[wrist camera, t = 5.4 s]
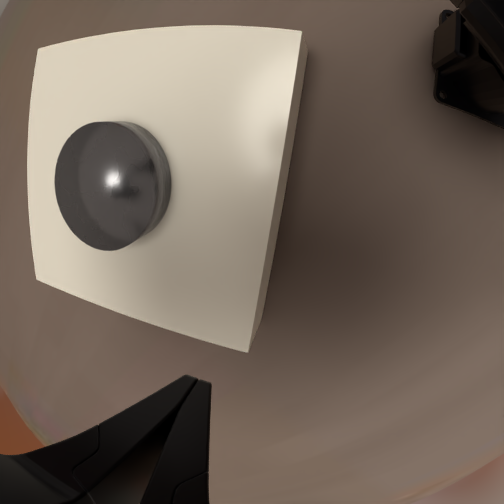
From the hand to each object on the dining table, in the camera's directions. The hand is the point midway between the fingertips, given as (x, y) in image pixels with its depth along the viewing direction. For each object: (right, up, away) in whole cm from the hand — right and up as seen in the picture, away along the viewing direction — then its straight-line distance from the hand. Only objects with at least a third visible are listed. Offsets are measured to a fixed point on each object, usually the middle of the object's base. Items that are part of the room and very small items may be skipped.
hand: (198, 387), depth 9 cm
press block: (-5, +10, +12) cm, 16 cm away
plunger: (-5, +10, +12) cm, 16 cm away
